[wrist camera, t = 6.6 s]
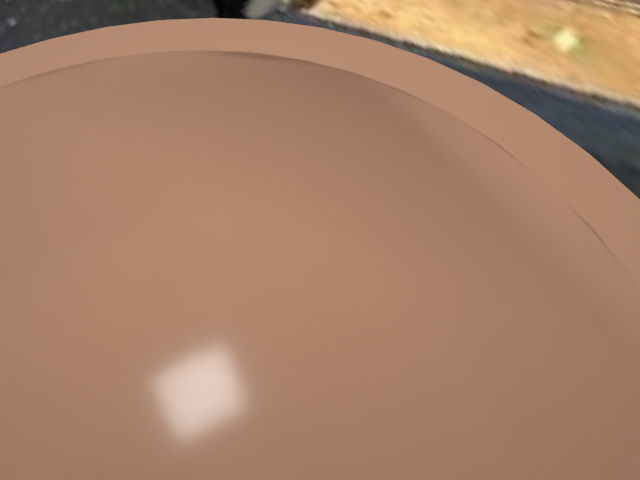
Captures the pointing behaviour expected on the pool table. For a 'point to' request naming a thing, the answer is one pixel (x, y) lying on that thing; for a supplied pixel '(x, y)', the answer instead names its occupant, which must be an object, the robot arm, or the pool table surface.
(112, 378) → the terracotta pot
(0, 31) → the pool table surface
